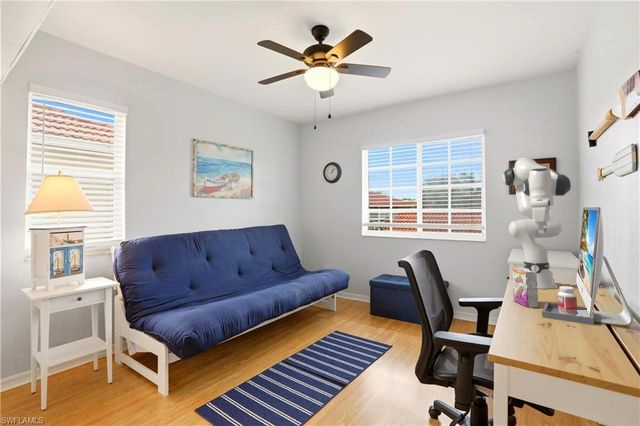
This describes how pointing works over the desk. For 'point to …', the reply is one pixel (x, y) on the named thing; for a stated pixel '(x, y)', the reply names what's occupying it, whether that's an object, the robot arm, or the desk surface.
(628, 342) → the desk surface
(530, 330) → the desk surface
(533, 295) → the candy bar box
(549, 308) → the grey tray
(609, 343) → the desk surface
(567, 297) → the pill bottle
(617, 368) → the desk surface
